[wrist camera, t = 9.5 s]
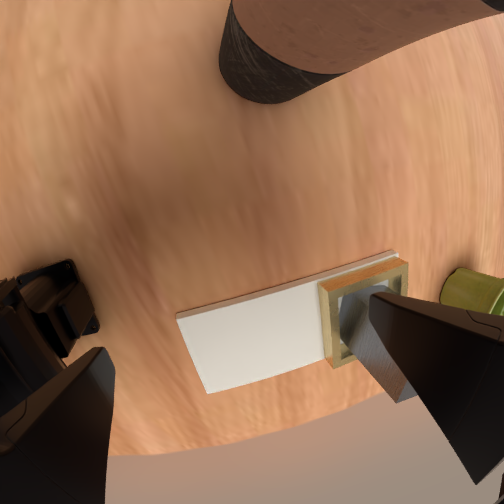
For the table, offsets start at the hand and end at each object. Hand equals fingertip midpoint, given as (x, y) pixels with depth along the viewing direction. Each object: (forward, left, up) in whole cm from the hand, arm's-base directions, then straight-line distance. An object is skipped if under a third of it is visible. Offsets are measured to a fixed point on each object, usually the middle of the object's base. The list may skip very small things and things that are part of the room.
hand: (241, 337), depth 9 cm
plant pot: (+27, -14, -13) cm, 33 cm away
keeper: (+11, -9, -13) cm, 20 cm away
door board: (+6, -9, -13) cm, 17 cm away
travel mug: (+7, +12, -13) cm, 19 cm away
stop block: (+11, -9, -12) cm, 19 cm away
